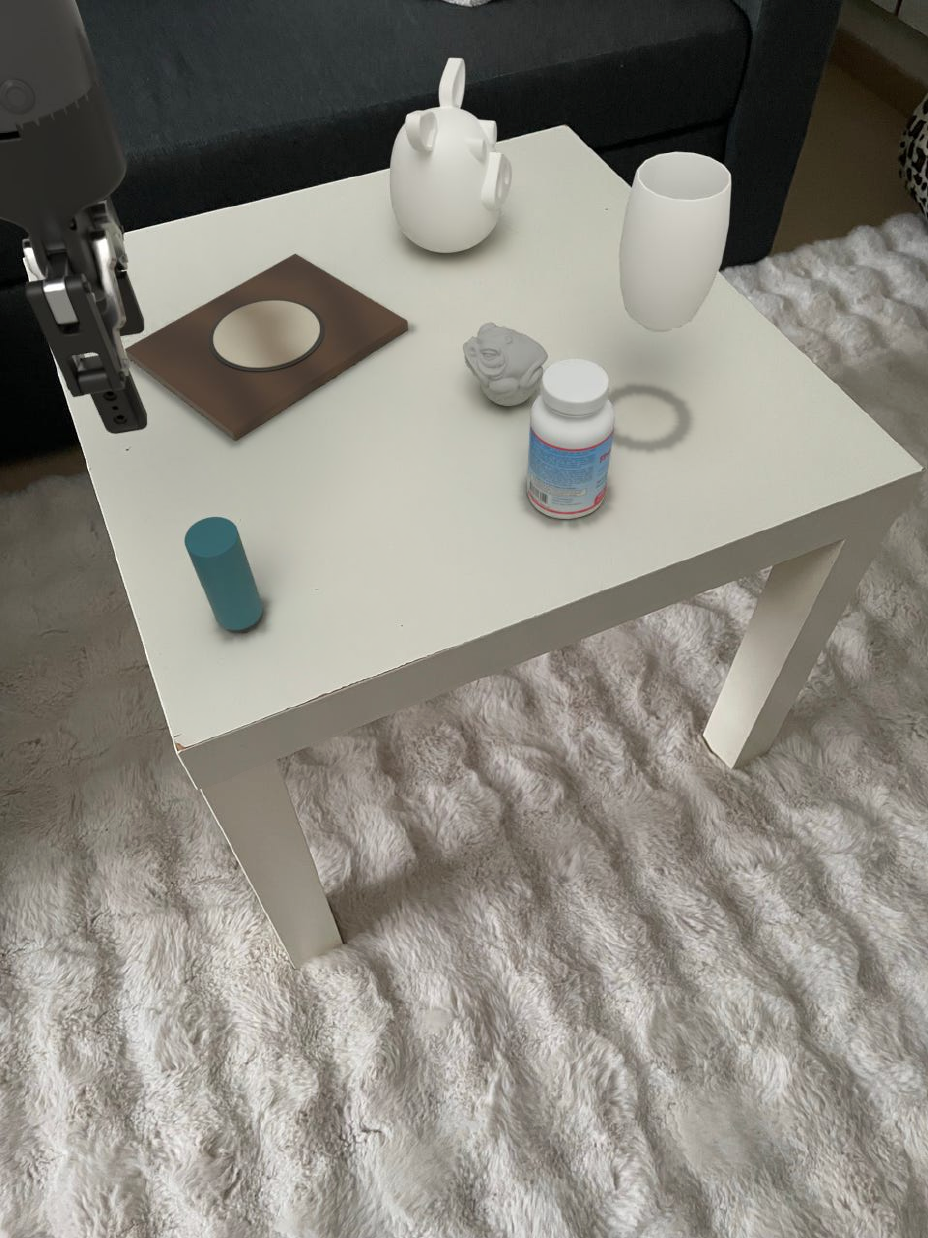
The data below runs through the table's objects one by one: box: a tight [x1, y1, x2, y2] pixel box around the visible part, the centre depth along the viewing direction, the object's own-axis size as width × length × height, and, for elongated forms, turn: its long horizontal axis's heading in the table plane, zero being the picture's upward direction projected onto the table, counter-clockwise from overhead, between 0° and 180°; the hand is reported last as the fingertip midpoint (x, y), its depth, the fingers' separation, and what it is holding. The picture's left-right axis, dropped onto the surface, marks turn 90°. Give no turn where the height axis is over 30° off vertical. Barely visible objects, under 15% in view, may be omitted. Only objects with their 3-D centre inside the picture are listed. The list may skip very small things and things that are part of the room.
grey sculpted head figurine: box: [462, 321, 549, 407], centre depth 76 cm, size 6×7×7 cm
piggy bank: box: [389, 57, 513, 254], centre depth 87 cm, size 12×12×15 cm
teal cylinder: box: [183, 516, 264, 634], centre depth 62 cm, size 3×3×9 cm
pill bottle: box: [526, 358, 616, 520], centre depth 68 cm, size 6×6×11 cm
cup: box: [618, 151, 732, 333], centre depth 69 cm, size 7×7×21 cm
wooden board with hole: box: [124, 253, 409, 441], centre depth 84 cm, size 20×16×1 cm
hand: (128, 377), depth 53 cm, fingers open, 8 cm apart
